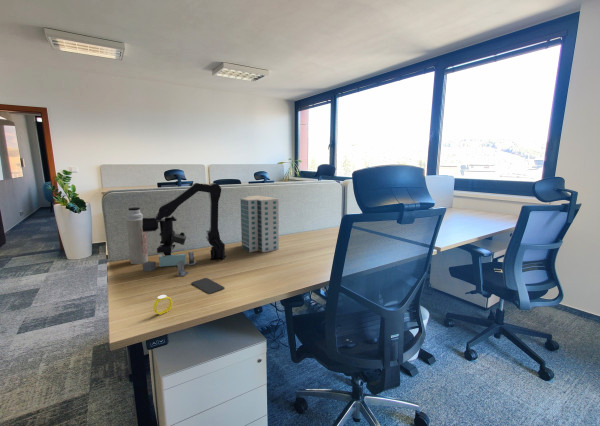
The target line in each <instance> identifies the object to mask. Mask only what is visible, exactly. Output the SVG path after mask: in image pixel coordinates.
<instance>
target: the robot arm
mask: <svg viewBox="0 0 600 426" xmlns="http://www.w3.org/2000/svg"><path fill="white" fill-rule="evenodd" d="M198 192H203V193H208V198H209V203H210V204H209V229H208V230H206V231H205V233H206V236H205V239H206V241H207V242H208V244H209V245H210V246H211V247H210V260H211V261H214V260H215V261H223V260H224V259H226V257H227V254H226V250H225V249H226V244H225V242H224V241H223V240H221V236H220V232H219V231H220V230H219V201H220V197H221V193H222V187H221V186H220V185H219V184H217V183H215V182H212V183H210V184H206V183H199V182H194V183H193V184H192V185H191V186H189V187H188V188H187V189H185V190H183V192H182V193H180V194H178V195H177V196H176V197H175V198H173V199H171V200H168V201H167V202H164V203H163V204H161V205H159V207H158V212H157V214H155V217H153V216H152V217H143V218H142V220H143V225H142V229H143V232H146V233H147V232H148V233H149V232H156V231H157V230H159V229H160V232H159V236H160V241H159V243H160V244H159V245H158V247H157V248H156V253H157V254H163V256H165V255H173V254H172V252H173V250H174V249H175V247H176V244H179V245H184V244H185V242H186V239H187V235H186V234H185V232H183V231H182V232H179V233H176V231H175V230H174V224H173V222H176V221H178V219H177V217H175V216H174V215H172V214H173V213H174V212H175V211H176V210H177V209H178V207H179V206H180V205H182V204H183V203H184V202H186V201H187V200H189V199H190V198H191V197H193V196H194V195H196V193H198ZM171 215H172V216H171ZM174 243H176V244H174Z"/></svg>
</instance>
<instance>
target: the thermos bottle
mask: <svg viewBox="0 0 600 426" xmlns="http://www.w3.org/2000/svg"><path fill="white" fill-rule="evenodd" d="M126 217H127V218H126V219H125V221H126V223H125V224H126V231H127V232H126V234H127V243H128V253H129V262H130V264H131V265H141V264H142V265H143V264H144V263H146V262H147V261H149V255H148V254H149V253H148V244H147V242H148V241H147V234H146V233H147V232H143V229H142V225H143V220H142V218H144V215H143V213H141V208H140V207H139V206H138V207H136V206H135V207H129V208H128V214H127V216H126Z"/></svg>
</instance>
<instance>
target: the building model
mask: <svg viewBox="0 0 600 426" xmlns="http://www.w3.org/2000/svg"><path fill="white" fill-rule="evenodd" d="M239 202H240V203H239V204H240V227H241V228H240V229H241V234H240V236H241V248H242V249H243V250H245V251H247V252H249V253H253V252H257V251H258V252H261V253H268V252H273V251H277V250H280V246H279V244H280V242H279V241H280V237H279V235H280V233H279V222H280V221H279V198H276V197H275V198H274V197H270V196H263V195H252V196H251V195H250V196H249V195H248V196H244V197H241V198H240V201H239Z"/></svg>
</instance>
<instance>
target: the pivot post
mask: <svg viewBox="0 0 600 426" xmlns="http://www.w3.org/2000/svg"><path fill="white" fill-rule="evenodd" d="M187 255H188V262H186V265H187V266H195V265H197V261H195V256H194V255H195V254H194V251H188V254H187Z"/></svg>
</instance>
